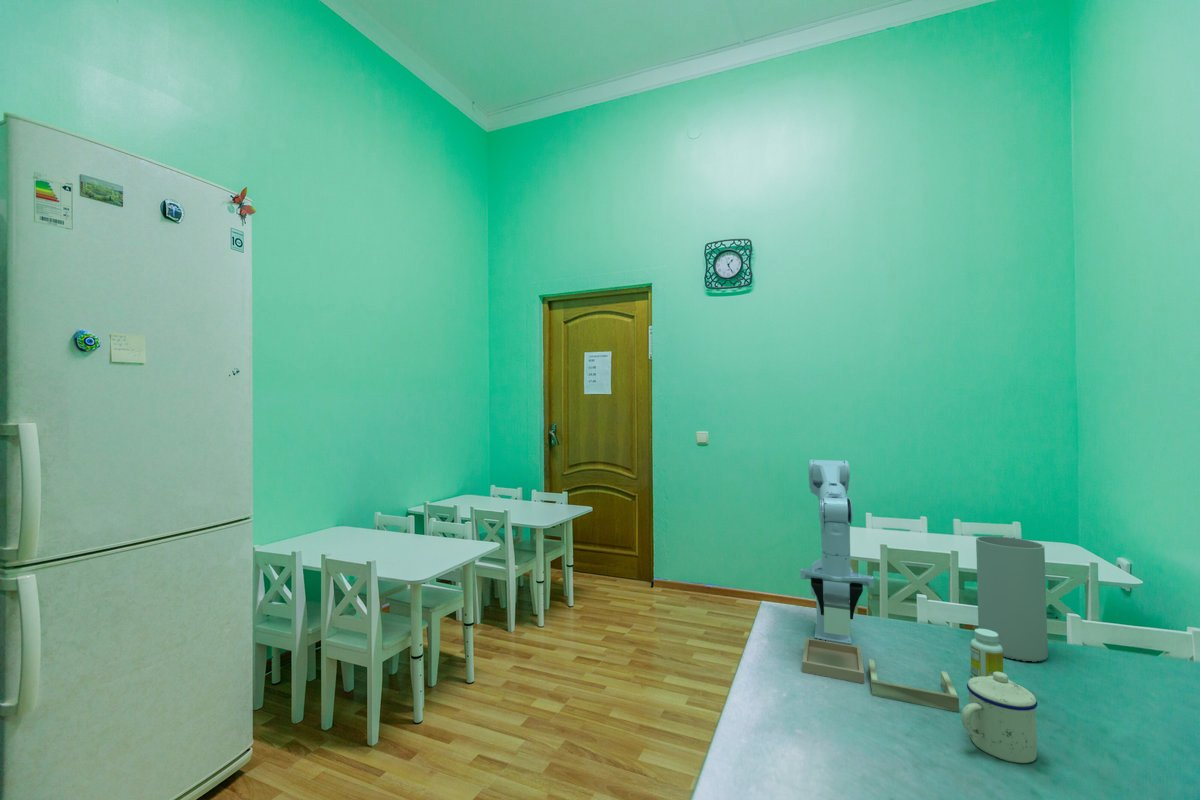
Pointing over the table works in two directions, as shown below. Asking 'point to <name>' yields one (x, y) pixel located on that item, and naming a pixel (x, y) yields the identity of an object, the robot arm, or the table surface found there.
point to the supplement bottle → (986, 653)
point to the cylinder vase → (1013, 595)
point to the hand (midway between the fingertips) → (836, 615)
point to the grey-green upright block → (836, 614)
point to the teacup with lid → (1001, 718)
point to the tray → (833, 660)
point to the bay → (916, 692)
